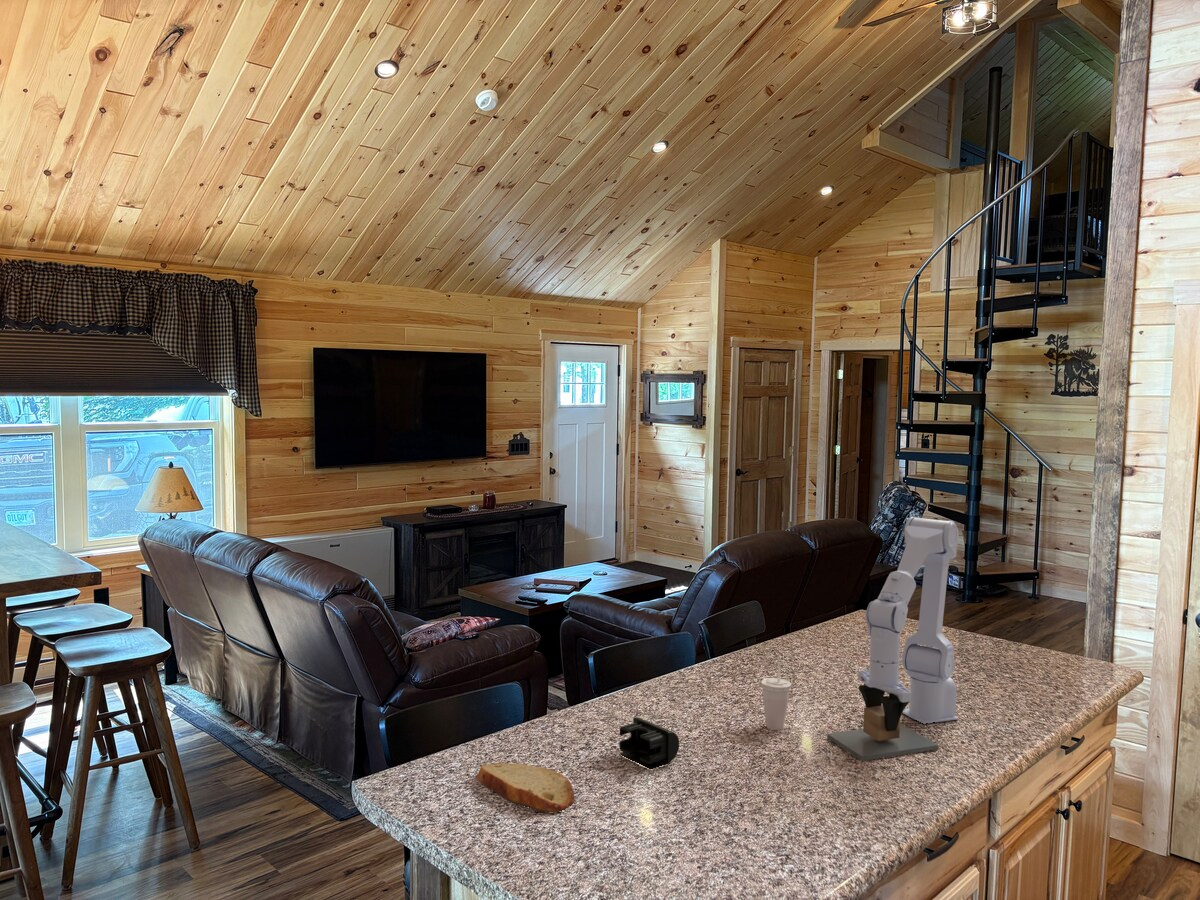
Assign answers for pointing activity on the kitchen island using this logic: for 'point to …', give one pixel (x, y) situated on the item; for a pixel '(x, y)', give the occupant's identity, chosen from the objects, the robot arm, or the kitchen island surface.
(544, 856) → the kitchen island surface
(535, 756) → the kitchen island surface
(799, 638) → the kitchen island surface
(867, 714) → the cube
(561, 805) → the slice of bread
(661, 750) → the end cap
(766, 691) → the smoothie
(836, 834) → the kitchen island surface
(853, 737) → the board
